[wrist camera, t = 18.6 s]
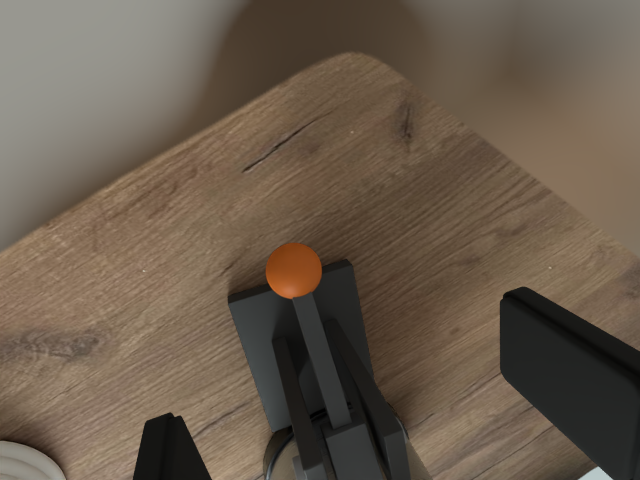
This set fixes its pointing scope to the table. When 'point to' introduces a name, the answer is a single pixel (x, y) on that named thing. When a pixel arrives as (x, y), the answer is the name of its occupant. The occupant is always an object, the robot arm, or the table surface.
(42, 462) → the white jar lid
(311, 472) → the switch base
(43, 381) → the table surface
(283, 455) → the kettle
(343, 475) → the switch lever
